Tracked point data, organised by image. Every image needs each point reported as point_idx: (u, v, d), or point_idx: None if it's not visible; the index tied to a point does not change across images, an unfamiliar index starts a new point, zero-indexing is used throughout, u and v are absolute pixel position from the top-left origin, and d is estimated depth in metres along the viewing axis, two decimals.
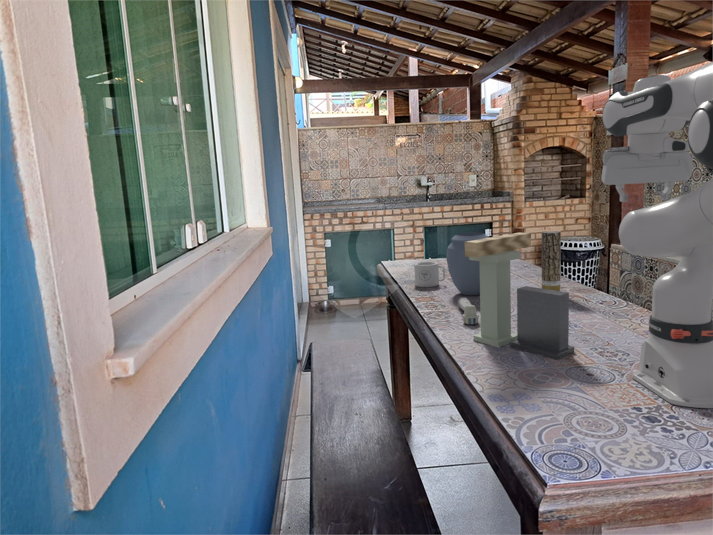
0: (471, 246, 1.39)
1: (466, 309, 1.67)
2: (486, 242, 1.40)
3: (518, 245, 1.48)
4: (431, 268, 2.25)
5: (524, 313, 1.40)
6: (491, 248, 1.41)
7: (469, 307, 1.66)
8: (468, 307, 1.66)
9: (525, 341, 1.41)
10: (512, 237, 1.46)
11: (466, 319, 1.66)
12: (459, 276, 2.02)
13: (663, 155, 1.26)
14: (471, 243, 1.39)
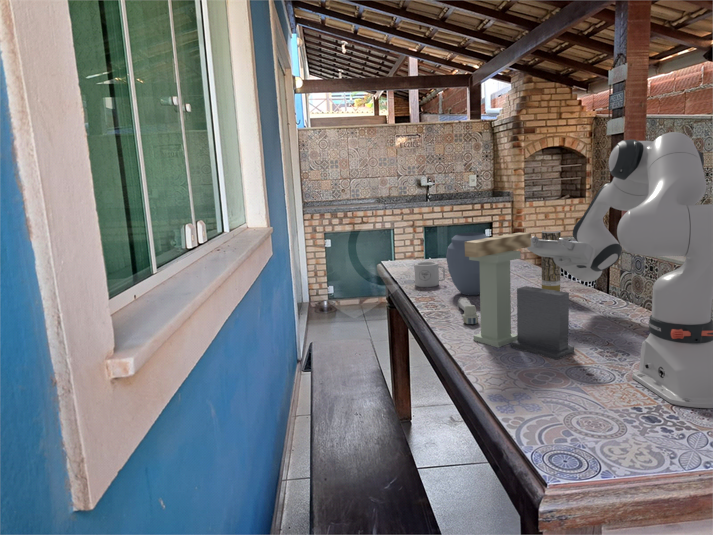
0: (471, 246, 1.39)
1: (466, 309, 1.67)
2: (486, 242, 1.40)
3: (518, 245, 1.48)
4: (431, 268, 2.25)
5: (524, 313, 1.40)
6: (491, 248, 1.41)
7: (469, 307, 1.66)
8: (468, 307, 1.67)
9: (525, 341, 1.41)
10: (512, 237, 1.46)
11: (466, 319, 1.67)
12: (459, 276, 2.02)
13: None
14: (471, 243, 1.39)
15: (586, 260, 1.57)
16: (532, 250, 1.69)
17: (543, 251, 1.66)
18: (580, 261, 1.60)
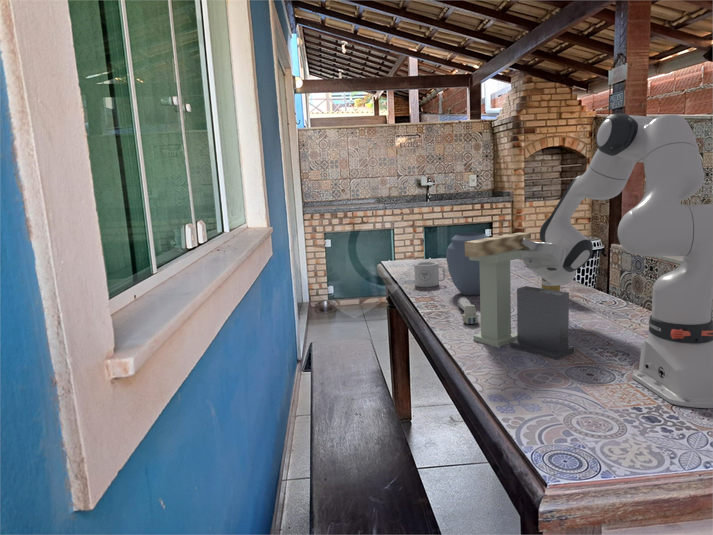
0: (471, 246, 1.39)
1: (466, 309, 1.67)
2: (486, 242, 1.40)
3: (518, 245, 1.48)
4: (431, 268, 2.25)
5: (524, 313, 1.40)
6: (491, 248, 1.41)
7: (469, 307, 1.67)
8: (468, 307, 1.67)
9: (525, 341, 1.41)
10: (512, 237, 1.46)
11: (466, 319, 1.67)
12: (459, 276, 2.02)
13: None
14: (471, 243, 1.39)
15: (556, 262, 1.48)
16: None
17: None
18: (550, 263, 1.51)
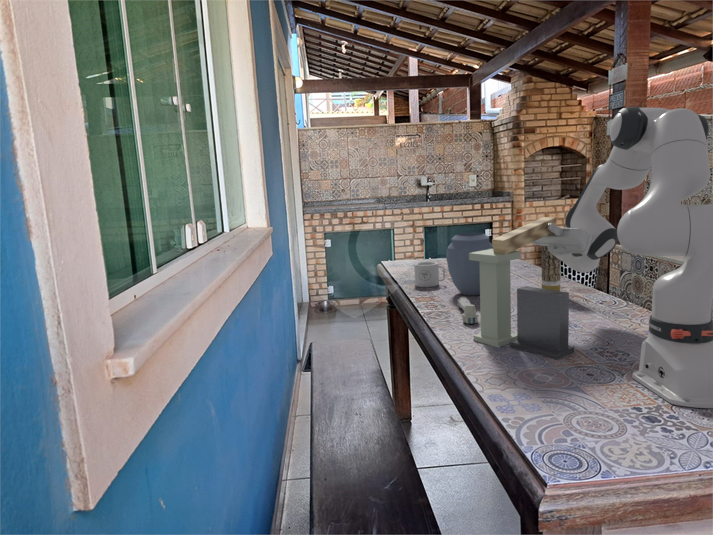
0: (498, 243, 1.40)
1: (466, 308, 1.68)
2: (513, 237, 1.41)
3: (545, 232, 1.49)
4: (431, 268, 2.25)
5: (524, 313, 1.40)
6: (518, 241, 1.43)
7: (469, 306, 1.67)
8: (468, 306, 1.67)
9: (525, 341, 1.41)
10: (538, 226, 1.47)
11: (466, 318, 1.67)
12: (459, 276, 2.02)
13: None
14: (499, 241, 1.40)
15: (582, 247, 1.48)
16: None
17: None
18: (576, 249, 1.51)
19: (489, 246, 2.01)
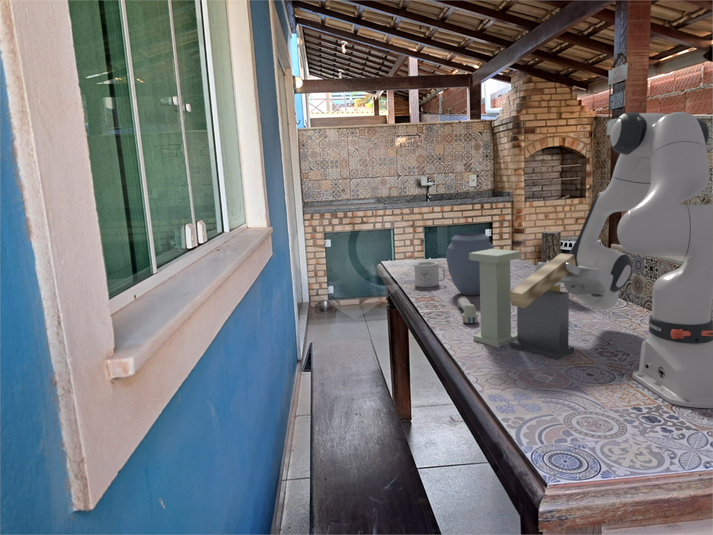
0: (516, 296, 1.30)
1: (466, 308, 1.68)
2: (532, 288, 1.31)
3: (564, 273, 1.39)
4: (431, 268, 2.25)
5: (524, 313, 1.40)
6: (537, 290, 1.32)
7: (469, 306, 1.67)
8: (468, 306, 1.68)
9: (525, 341, 1.41)
10: (556, 268, 1.36)
11: (465, 318, 1.68)
12: (459, 276, 2.02)
13: None
14: (516, 294, 1.30)
15: (602, 289, 1.38)
16: None
17: None
18: (595, 289, 1.41)
19: (489, 246, 2.01)
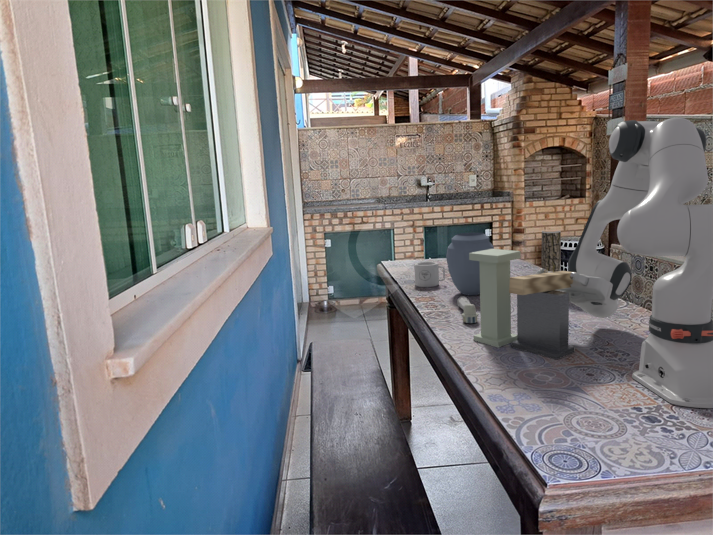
0: (517, 282, 1.30)
1: (465, 308, 1.68)
2: (533, 279, 1.31)
3: (564, 285, 1.39)
4: (431, 268, 2.25)
5: (524, 313, 1.40)
6: (537, 285, 1.32)
7: (468, 306, 1.68)
8: (467, 306, 1.68)
9: (525, 341, 1.41)
10: (558, 275, 1.37)
11: (465, 318, 1.68)
12: (459, 276, 2.02)
13: None
14: (517, 279, 1.29)
15: (602, 297, 1.38)
16: None
17: None
18: (595, 298, 1.41)
19: (489, 246, 2.01)
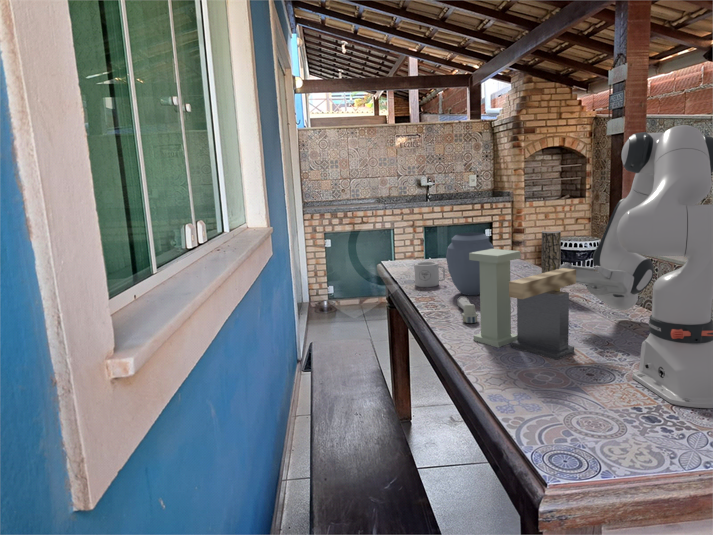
0: (516, 286, 1.30)
1: (465, 308, 1.68)
2: (532, 282, 1.31)
3: (564, 283, 1.39)
4: (431, 268, 2.25)
5: (524, 313, 1.40)
6: (537, 288, 1.32)
7: (468, 306, 1.68)
8: (467, 306, 1.68)
9: (525, 341, 1.41)
10: (558, 275, 1.37)
11: (465, 318, 1.68)
12: (459, 276, 2.02)
13: None
14: (516, 284, 1.29)
15: (625, 289, 1.45)
16: None
17: (576, 278, 1.54)
18: (617, 290, 1.48)
19: (489, 246, 2.01)
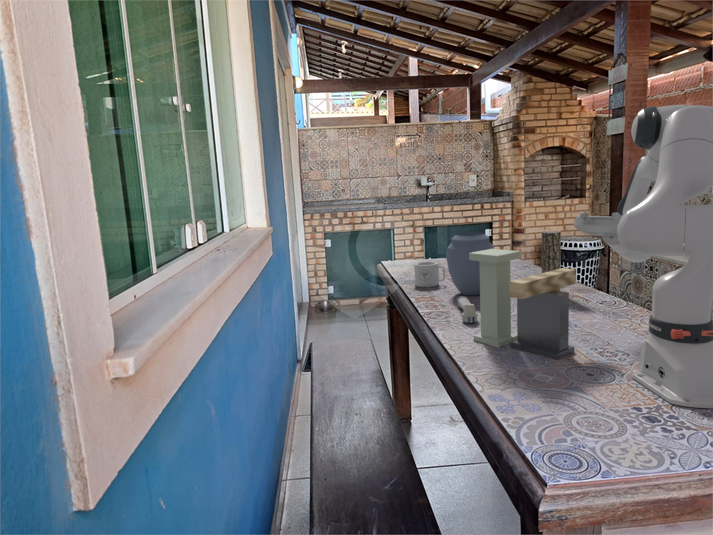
0: (516, 286, 1.30)
1: (465, 308, 1.69)
2: (532, 282, 1.31)
3: (564, 283, 1.39)
4: (431, 268, 2.25)
5: (524, 313, 1.40)
6: (537, 288, 1.32)
7: (468, 306, 1.68)
8: (467, 306, 1.68)
9: (525, 341, 1.41)
10: (558, 275, 1.37)
11: (465, 317, 1.68)
12: (459, 276, 2.02)
13: None
14: (516, 284, 1.29)
15: None
16: (579, 228, 1.58)
17: (592, 228, 1.55)
18: None
19: (489, 246, 2.01)
